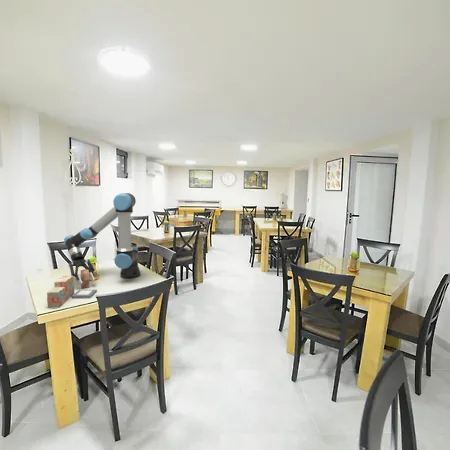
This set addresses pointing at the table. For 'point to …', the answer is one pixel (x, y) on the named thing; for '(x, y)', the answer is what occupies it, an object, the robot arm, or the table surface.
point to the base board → (84, 294)
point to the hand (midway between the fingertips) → (87, 282)
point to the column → (85, 278)
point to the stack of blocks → (60, 291)
